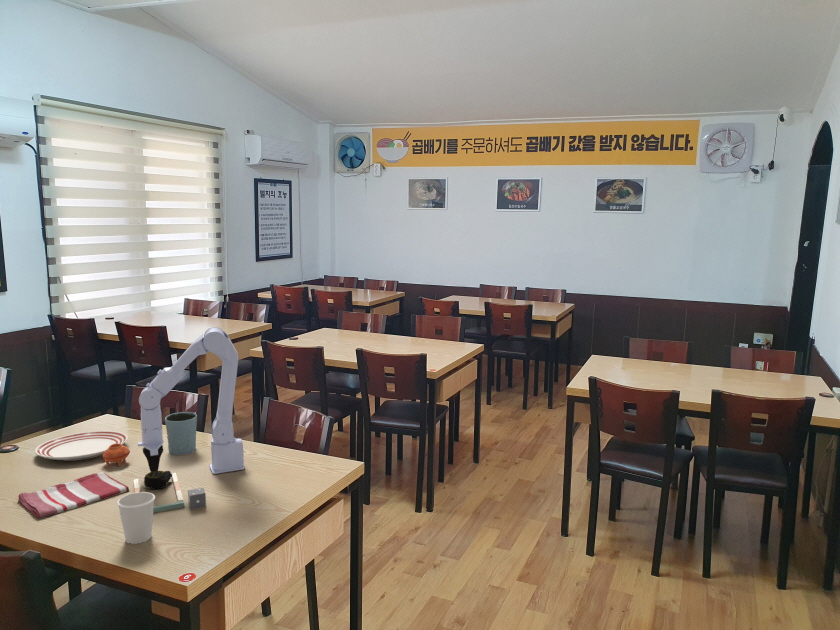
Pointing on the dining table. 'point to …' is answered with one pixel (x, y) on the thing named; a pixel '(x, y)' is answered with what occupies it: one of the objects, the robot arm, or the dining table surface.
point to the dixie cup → (137, 516)
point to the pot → (116, 453)
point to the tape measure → (157, 479)
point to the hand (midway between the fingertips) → (154, 470)
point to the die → (197, 498)
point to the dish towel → (71, 494)
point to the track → (171, 505)
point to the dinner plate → (80, 445)
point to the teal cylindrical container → (181, 432)
